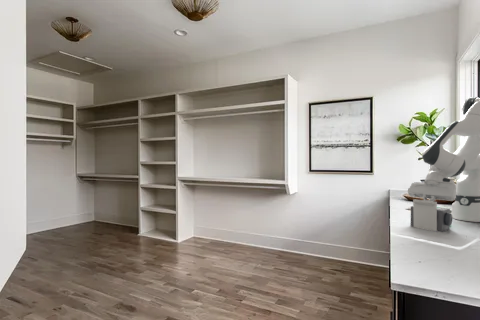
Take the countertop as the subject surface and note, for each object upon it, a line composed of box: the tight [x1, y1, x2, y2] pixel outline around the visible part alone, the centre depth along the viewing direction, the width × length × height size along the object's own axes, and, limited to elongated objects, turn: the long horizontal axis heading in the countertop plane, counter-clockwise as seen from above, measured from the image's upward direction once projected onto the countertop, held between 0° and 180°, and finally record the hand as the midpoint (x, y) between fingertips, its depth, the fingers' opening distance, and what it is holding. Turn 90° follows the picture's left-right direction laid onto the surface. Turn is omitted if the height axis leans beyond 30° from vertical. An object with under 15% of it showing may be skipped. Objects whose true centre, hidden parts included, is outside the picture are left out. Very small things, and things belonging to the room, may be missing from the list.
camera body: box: [410, 205, 453, 233], centre depth 143 cm, size 9×16×11 cm, turn 36°
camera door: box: [412, 198, 438, 232], centre depth 140 cm, size 2×10×14 cm, turn 36°
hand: (426, 203), depth 140 cm, fingers closed, pressing on camera door
